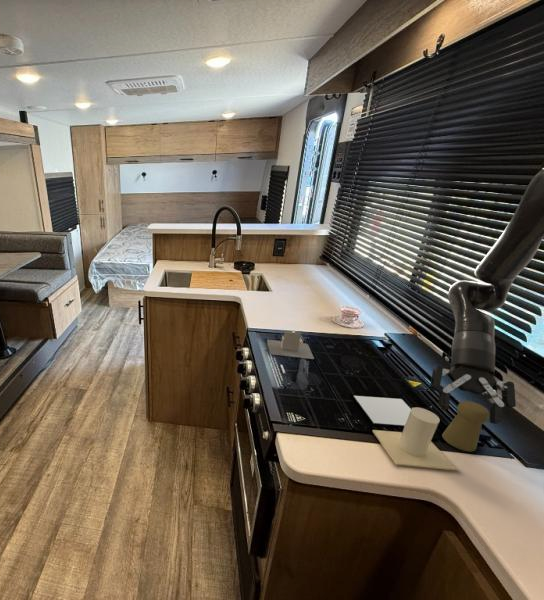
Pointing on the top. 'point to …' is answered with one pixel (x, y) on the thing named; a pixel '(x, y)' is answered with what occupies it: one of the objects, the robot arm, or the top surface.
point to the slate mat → (384, 410)
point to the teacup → (349, 317)
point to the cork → (466, 426)
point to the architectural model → (290, 346)
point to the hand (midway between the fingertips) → (469, 416)
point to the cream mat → (401, 457)
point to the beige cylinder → (418, 431)
